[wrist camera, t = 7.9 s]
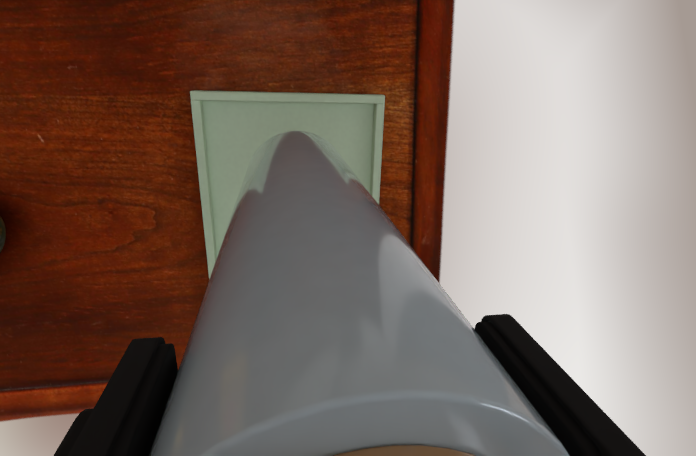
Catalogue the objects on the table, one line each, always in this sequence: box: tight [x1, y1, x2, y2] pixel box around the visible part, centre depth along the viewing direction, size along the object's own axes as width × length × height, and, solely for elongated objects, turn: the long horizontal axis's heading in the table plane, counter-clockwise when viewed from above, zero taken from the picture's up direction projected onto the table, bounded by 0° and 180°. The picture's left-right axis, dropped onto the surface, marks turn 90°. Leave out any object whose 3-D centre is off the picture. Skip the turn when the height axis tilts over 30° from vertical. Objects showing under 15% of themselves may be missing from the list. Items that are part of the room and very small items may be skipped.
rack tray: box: [190, 90, 385, 279], centre depth 43 cm, size 28×18×2 cm, turn 179°
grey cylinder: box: [149, 131, 570, 456], centre depth 16 cm, size 7×7×24 cm
